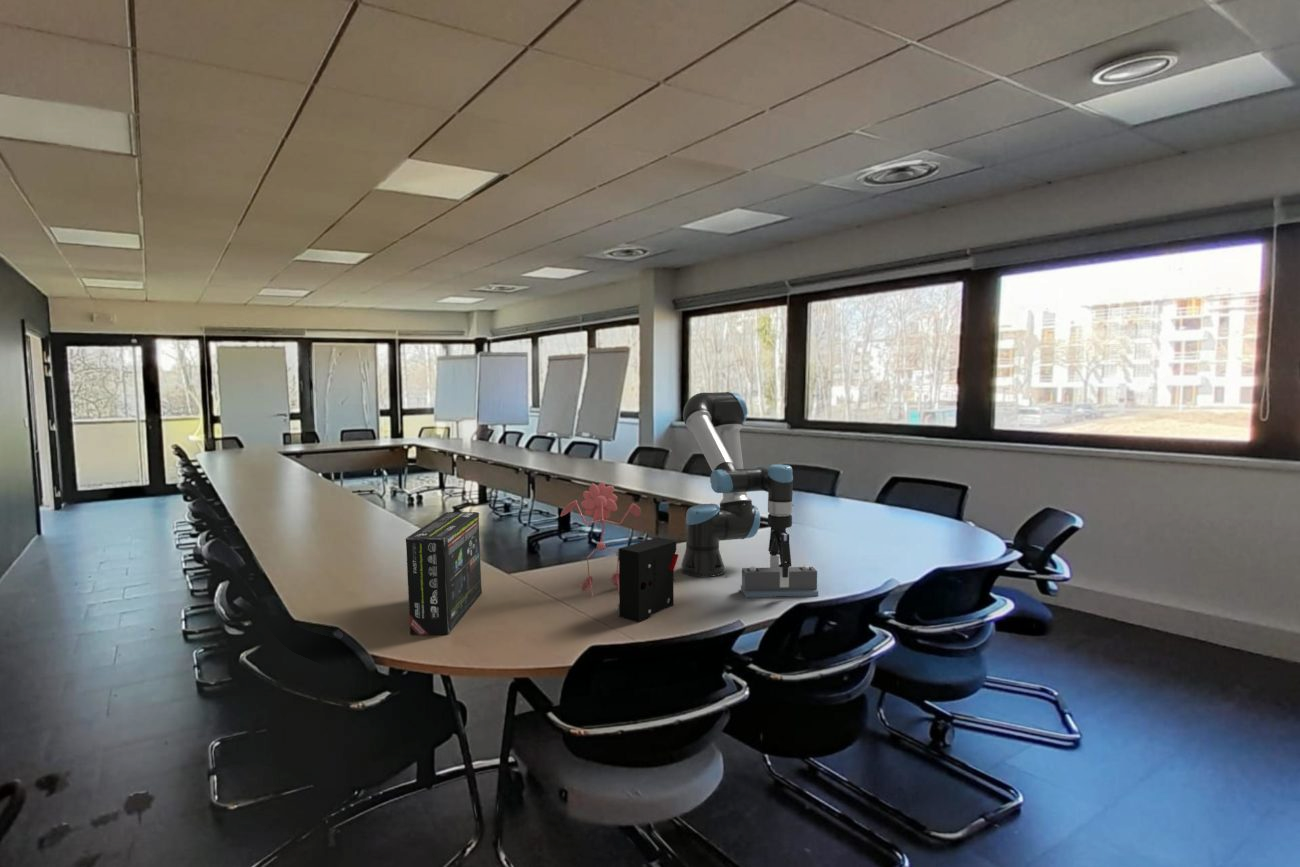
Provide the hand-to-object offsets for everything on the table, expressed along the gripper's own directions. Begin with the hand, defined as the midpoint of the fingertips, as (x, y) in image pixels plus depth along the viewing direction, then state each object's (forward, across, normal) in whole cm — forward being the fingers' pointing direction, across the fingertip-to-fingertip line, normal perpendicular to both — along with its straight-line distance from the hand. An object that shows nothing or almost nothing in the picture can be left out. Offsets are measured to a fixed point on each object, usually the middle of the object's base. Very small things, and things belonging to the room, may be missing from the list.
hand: (779, 581), depth 214 cm
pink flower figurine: (+4, +8, +57) cm, 58 cm away
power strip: (+2, 0, 0) cm, 2 cm away
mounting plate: (+4, 0, 0) cm, 4 cm away
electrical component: (+4, -14, +43) cm, 45 cm away
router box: (+4, -12, +101) cm, 102 cm away
